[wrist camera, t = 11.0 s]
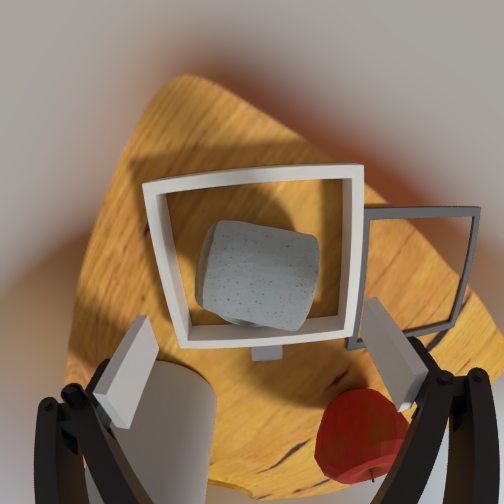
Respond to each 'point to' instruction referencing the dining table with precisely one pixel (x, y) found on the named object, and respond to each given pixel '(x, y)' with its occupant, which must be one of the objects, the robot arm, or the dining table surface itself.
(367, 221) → the tray outline
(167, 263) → the socket
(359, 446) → the apple
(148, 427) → the cylinder vase
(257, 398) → the dining table surface
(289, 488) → the dining table surface
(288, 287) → the ceramic mug
